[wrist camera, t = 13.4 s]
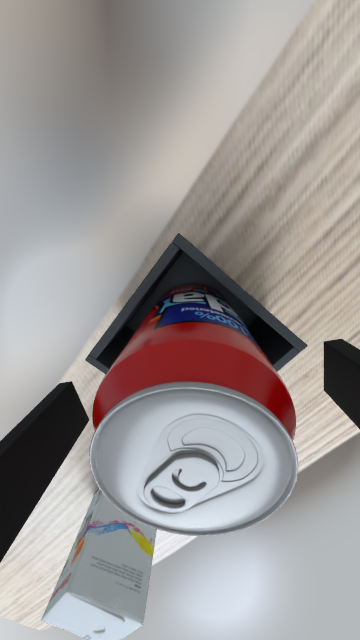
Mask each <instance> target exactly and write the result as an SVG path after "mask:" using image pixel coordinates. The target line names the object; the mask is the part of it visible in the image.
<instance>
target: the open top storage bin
mask: <svg viewBox="0 0 360 640" xmlns="http://www.w3.org/2000/svg"><path fill="white" fill-rule="evenodd" d="M184 283H201V284H205V285H208V286H211V287H213V288H215V289H216V290H218V291H219V292H220V293H221V294H222V295H223V296H224V297H225V298H226V299H227V300H228V302H229V303H230V304H231V306H232V307H233V309H234V310H235V312H236V313H237V315H238V316H239V317H240V319H241V320H242V322H243V323H244V325H245V326H246V328H247V329H248V331H249V332H250V333H251V335H252V336H253V338H254V339H255V341H256V342H257V344H258V345H259V346H260V348H261V349H262V351H263V352H264V354H265V355H266V357H267V358H268V359H269V361H270V362H271V364H272V365H273V367H274V368H275V370H276V371H278V370H280V369H281V368H282V367H283V366H284V365H285V364H287V363H288V362H289V361H290V360H291V359H293V358H294V357H295V356H296V355H297V354H298V353H300V352H301V351H302V350H303V349H304V348H306V347H307V344H305V343H304V342H303V341H302V340H301V339H300V338H299V337H297V336H296V335H295V334H294V333H293V332H292V331H291V330H289V329H288V328H287V327H286V326H285V325H284V324H282V323H281V322H280V321H279V320H278V319H277V318H276V317H274V316H273V315H272V314H271V313H270V312H269V311H268V310H266V309H265V308H264V307H263V306H262V305H261V304H260V303H258V302H257V301H256V300H255V299H254V298H253V297H252V296H250V295H249V294H248V293H247V292H246V291H245V290H244V289H242V288H241V287H240V286H239V285H238V284H237V283H235V282H234V281H233V280H232V279H231V278H230V277H229V276H227V275H226V274H225V273H224V272H223V271H222V270H221V269H219V268H218V267H217V266H216V265H215V264H214V263H213V262H211V261H210V260H209V259H208V258H207V257H206V256H205V255H203V254H202V253H201V252H200V251H199V250H198V249H197V248H195V247H194V246H193V245H192V244H191V243H190V242H188V241H187V240H186V239H185V238H184V237H183V236H182V235H180V234H179V233H178V234H177V236H176V237H175V238H174V240H173V241H172V243H171V244H170V245H169V247H168V248H167V249H166V251H165V252H164V253H163V255H162V256H161V257H160V259H159V260H158V262H157V263H156V264H155V266H154V267H153V268H152V270H151V271H150V272H149V274H148V275H147V276H146V278H145V279H144V281H143V282H142V283H141V285H140V286H139V287H138V289H137V290H136V291H135V293H134V294H133V295H132V297H131V298H130V299H129V301H128V302H127V304H126V305H125V306H124V308H123V309H122V310H121V312H120V313H119V314H118V316H117V317H116V318H115V320H114V321H113V323H112V324H111V325H110V327H109V328H108V329H107V331H106V332H105V333H104V335H103V336H102V337H101V339H100V340H99V341H98V343H97V344H96V346H95V347H94V348H93V350H92V351H91V352H90V354H89V355H88V356H87V358H86V359H85V360H86V361H87V362H89V363H90V364H92V365H93V366H95V367H96V368H97V369H99V370H100V371H102V372H103V373H105V374H107V372H108V370H109V369H110V367H111V366H112V365H113V363H114V362H115V360H116V359H117V357H118V356H119V355H120V353H121V352H122V350H123V349H124V348H125V346H126V345H127V343H128V342H129V341H130V339H131V338H132V336H133V335H134V334H135V332H136V331H137V329H138V328H139V326H140V325H141V324H142V322H143V321H144V319H145V318H146V317H147V315H148V314H149V312H150V311H151V310H152V308H153V307H154V305H155V304H156V303H157V301H158V300H159V299H160V297H161V296H162V295H163V294H164V293H165V292H167V291H168V290H170V289H171V288H173V287H175V286H177V285H180V284H184Z"/></svg>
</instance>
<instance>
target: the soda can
mask: <svg viewBox="0 0 360 640" xmlns="http://www.w3.org/2000/svg"><path fill="white" fill-rule="evenodd" d="M93 426H94V430H95V433H94V435H93V438H92V441H91V446H90V466H91V471H92V474H93V477H94V479H95V481H96V483H97V485H98V487H99V488H100V490H101V491H102V493H103V494H104V495H105V497H106V498H107V499H108V500H109V501H110V502H111V503H112V504H113V505H114V506H115V507H117V508H118V509H119V510H120V511H122V512H123V513H125V514H126V515H128V516H129V517H131V518H133V519H134V520H136V521H138V522H140V523H143V524H145V525H147V526H150V527H152V528H155V529H158V530H162V531H166V532H170V533H175V534H182V535H192V536H209V535H220V534H226V533H231V532H235V531H239V530H242V529H245V528H248V527H250V526H253V525H255V524H257V523H259V522H261V521H262V520H264V519H266V518H267V517H269V516H270V515H272V514H273V513H274V512H276V511H277V510H278V509H279V508H280V507H281V506H282V505H283V503H284V502H285V501H286V500H287V498H288V497H289V495H290V494H291V492H292V490H293V488H294V485H295V482H296V479H297V474H298V458H297V453H296V449H295V446H294V443H293V439H294V435H295V429H296V416H295V410H294V405H293V402H292V399H291V397H290V394H289V392H288V389H287V387H286V385H285V384H284V382H283V380H282V379H281V377H280V376H279V374H278V373H277V371H276V370H275V368H274V367H273V365H272V364H271V362H270V361H269V359H268V358H267V357H266V355H265V354H264V352H263V351H262V349H261V348H260V346H259V345H258V344H257V342H256V341H255V339H254V338H253V336H252V335H251V333H250V332H249V331H248V329H247V328H246V326H245V325H244V323H243V322H242V320H241V319H240V317H239V316H238V315H237V313H236V312H235V310H234V309H233V307H232V306H231V304H230V303H229V302H228V300H227V299H226V298H225V297H224V296H223V295H222V294H221V293H220V292H219V291H218V290H216V289H215V288H213V287H211V286H208V285H205V284H201V283H184V284H180V285H177V286H175V287H173V288H171V289H170V290H168V291H167V292H165V293H164V294H163V295H162V296H161V297H160V299H159V300H158V301H157V303H156V304H155V305H154V307H153V308H152V310H151V311H150V312H149V314H148V315H147V317H146V318H145V319H144V321H143V322H142V324H141V325H140V326H139V328H138V329H137V331H136V332H135V334H134V335H133V336H132V338H131V339H130V341H129V342H128V343H127V345H126V346H125V348H124V349H123V350H122V352H121V353H120V355H119V356H118V357H117V359H116V360H115V362H114V363H113V365H112V366H111V367H110V369H109V370H108V372H107V374H106V375H105V377H104V378H103V380H102V382H101V384H100V386H99V388H98V391H97V394H96V397H95V400H94V405H93Z"/></svg>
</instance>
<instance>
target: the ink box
mask: <svg viewBox="0 0 360 640" xmlns="http://www.w3.org/2000/svg"><path fill="white" fill-rule="evenodd" d="M156 530H157V529H155V528H152V527H150V526H147V525H145V524H143V523H140V522H138V521H136V520H134V519H133V518H131V517H129V516H128V515H126V514H125V513H123V512H122V511H120V510H119V509H118V508H117V507H115V506H114V505H113V504H112V503H111V502H110V501H109V500H108V499H107V498H106V497H105V495H104V494H103V493H102V491H101V490H100V488H99V489H98V491H97V492H96V494H95V495H94V497H93V499H92V501H91V504H90V506H89V509H88V511H87V513H86V516H85V518H84V521H83V523H82V525H81V528H80V530H79V533H78V535H77V537H76V540H75V542H74V544H73V547H72V549H71V552H70V554H69V556H68V559H67V561H66V563H65V566H64V568H63V570H62V573H61V575H60V577H59V580H58V582H57V585H56V587H55V589H54V592H53V594H52V596H51V599H50V601H49V603H48V606H47V608H46V610H45V613H44V615H43V617H42V619H41V621H42V622H45V623H48V624H51V625H53V626H56V627H59V628H62V629H64V630H67V631H69V632H71V633H74V634H76V635H78V636H79V637H82V638H84V639H86V640H121V639H122V638H124V637H125V636H127V635H128V634H130V633H131V632H133V631H134V630H136V629H137V628H139V627H140V626H141V625H142V624H143V620H144V615H145V608H146V601H147V594H148V587H149V580H150V573H151V565H152V558H153V551H154V544H155V537H156Z"/></svg>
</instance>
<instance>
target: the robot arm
mask: <svg viewBox="0 0 360 640" xmlns="http://www.w3.org/2000/svg"><path fill="white" fill-rule="evenodd" d="M324 391H325V392H326V393H327V394H328V395H329V396H330V397H331V398H332V399H333V401H334V402H335V403H336V404H337V405H338V406H339V407H340V408H341V409H342V410H343V411H344V412H345V414H346V415H347V416H348V417H349V418H350V419H351V420H352V421H353V422H354V423H355V424H356V425H357V427H358V428H359V429H360V350H359V349H358V348H356V347H354V346H353V345H351V344H349V343H348V342H346V341H344V340H343V339H337V340H331V341H325V342H324ZM88 421H89V418H88V416H87V414H86V412H85V409H84V407H83V405H82V403H81V401H80V398H79V396H78V394H77V392H76V390H75V387H74V385H73V383H72V381H71V382H65V383H59V384H58V385H57V386H56V387H55V388H54V389H53V390H52V391H51V392H50V393H49V394H48V395H47V396H46V397H45V398H44V399H43V400H42V401H41V402H40V403H39V404H38V405H37V406H36V407H35V408H34V409H33V410H32V411H31V412H30V413H29V414H28V415H27V416H26V417H25V418H24V419H23V420H22V421H21V422H20V423H19V424H17V426H15V427H14V428H13V429H12V430H11V431H10V432H9V433H8V434H7V435H6V436H5V437H4V438H3V439H2V440H1V441H0V562H1V561H2V559H3V558H4V556H5V554H6V553H7V551H8V549H9V548H10V546H11V545H12V543H13V541H14V540H15V538H16V537H17V535H18V533H19V532H20V530H21V529H22V527H23V525H24V524H25V522H26V521H27V519H28V517H29V516H30V514H31V513H32V511H33V509H34V508H35V506H36V505H37V503H38V501H39V500H40V498H41V497H42V495H43V493H44V492H45V490H46V489H47V487H48V485H49V484H50V482H51V481H52V479H53V477H54V476H55V474H56V473H57V471H58V469H59V468H60V466H61V465H62V463H63V461H64V460H65V458H66V457H67V455H68V453H69V452H70V450H71V449H72V447H73V445H74V444H75V442H76V441H77V439H78V437H79V436H80V434H81V433H82V431H83V429H84V428H85V426H86V425H87V423H88Z"/></svg>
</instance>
